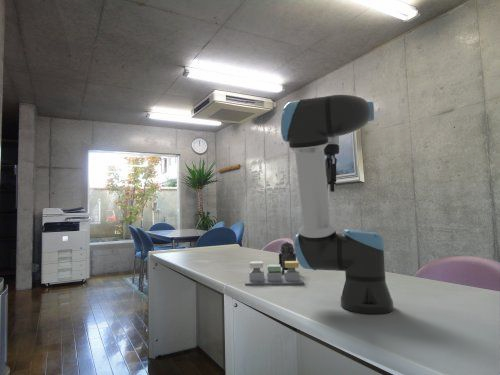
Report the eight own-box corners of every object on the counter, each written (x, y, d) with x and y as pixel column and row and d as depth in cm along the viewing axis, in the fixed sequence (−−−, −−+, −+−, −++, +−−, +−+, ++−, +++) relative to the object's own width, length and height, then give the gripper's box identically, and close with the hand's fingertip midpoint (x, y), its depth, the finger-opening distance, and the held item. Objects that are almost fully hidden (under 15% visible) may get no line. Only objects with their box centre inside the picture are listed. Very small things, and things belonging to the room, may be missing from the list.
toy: (277, 274, 153) (277, 242, 155) (280, 271, 159) (279, 241, 160) (295, 274, 151) (294, 242, 152) (297, 272, 156) (296, 241, 158)
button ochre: (297, 272, 140) (297, 260, 141) (298, 274, 135) (298, 262, 135) (285, 272, 140) (284, 261, 141) (285, 275, 135) (285, 263, 135)
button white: (263, 272, 141) (263, 261, 141) (263, 275, 136) (262, 263, 136) (250, 272, 141) (250, 261, 142) (250, 275, 136) (249, 263, 136)
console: (300, 277, 145) (300, 268, 145) (304, 285, 129) (304, 274, 129) (247, 277, 146) (247, 268, 147) (245, 285, 131) (245, 275, 131)
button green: (280, 276, 140) (280, 264, 141) (281, 278, 135) (280, 266, 135) (267, 276, 141) (267, 264, 141) (267, 278, 135) (267, 266, 136)
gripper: (318, 148, 146) (320, 200, 144) (323, 142, 133) (326, 199, 131) (335, 147, 145) (337, 200, 143) (342, 141, 132) (344, 198, 130)
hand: (332, 199), depth 137 cm, fingers closed
